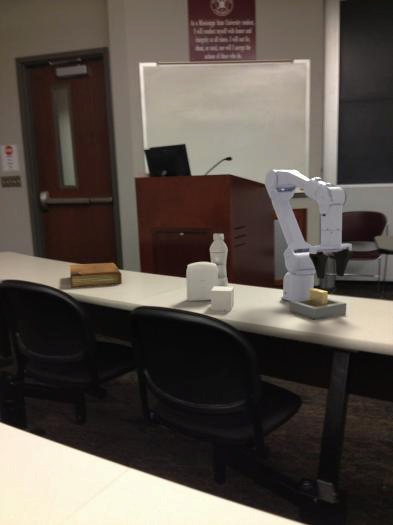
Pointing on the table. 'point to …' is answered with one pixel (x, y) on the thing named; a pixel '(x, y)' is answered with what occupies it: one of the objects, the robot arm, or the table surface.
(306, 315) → the grey well
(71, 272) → the diary
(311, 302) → the yellow block
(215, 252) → the plastic bottle
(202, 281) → the photo printer
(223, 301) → the off-white cube
